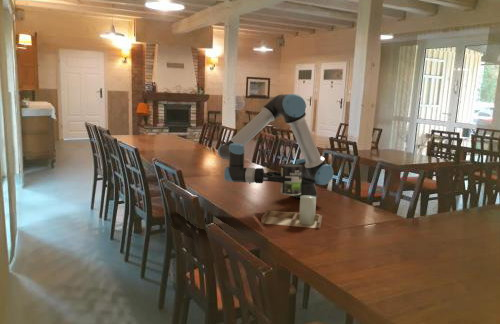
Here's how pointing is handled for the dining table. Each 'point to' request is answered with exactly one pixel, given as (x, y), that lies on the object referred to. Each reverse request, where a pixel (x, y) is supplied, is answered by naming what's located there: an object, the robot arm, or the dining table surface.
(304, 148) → the robot arm
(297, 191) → the coffee can
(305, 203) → the sage jar
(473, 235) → the dining table surface
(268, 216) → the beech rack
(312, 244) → the dining table surface
